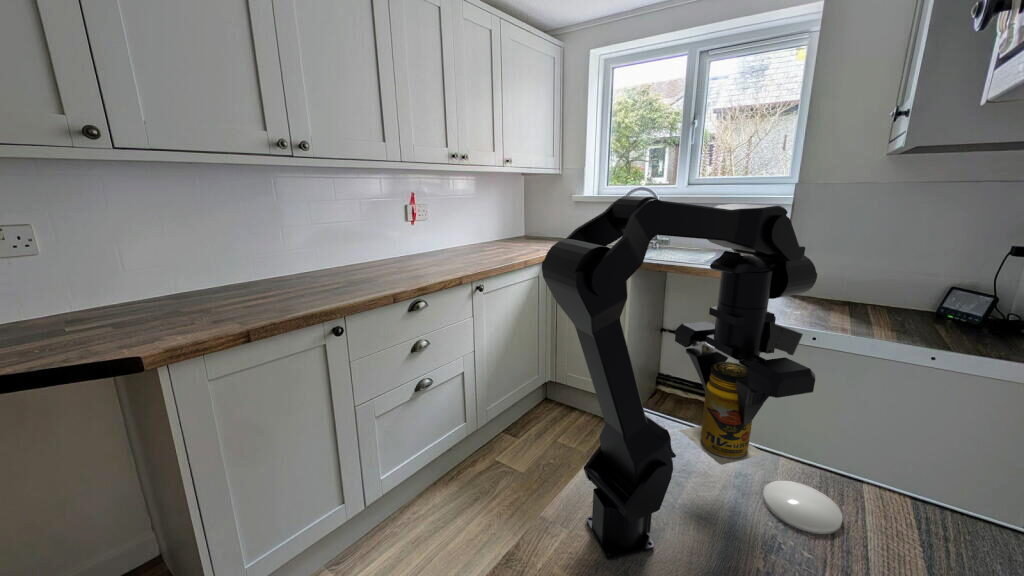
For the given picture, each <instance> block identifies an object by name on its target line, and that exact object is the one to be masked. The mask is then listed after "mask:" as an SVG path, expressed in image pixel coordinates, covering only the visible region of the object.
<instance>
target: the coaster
mask: <svg viewBox="0 0 1024 576" xmlns="http://www.w3.org/2000/svg"><path fill="white" fill-rule="evenodd" d="M762 498H763V502H764V505H765V506H766V507H767V509H768V510H769V511H770V512H771V513H772V514H773V515H774V516H775V517H777V518H778V519H779V520H781V521H783V522H784V523H786V524H787V525H789V526H791V527H793V528H795V529H798V530H800V531H804V532H807V533H811V534H817V535H829V534H834V533H836V532H838V531H839V530H840V528H841V527H842V523H843V513H842V511H841V509H840V508H839V506H838V505H837V504H836V503H835V502H834V501H833V500H832V499H831V498H829V496H827V495H825V494H824V493H823V492H820V491H819V490H817V489H815V488H813V487H811V486H808V485H807V484H803V483H800V482H797V481H790V480H774V481H772V482H769V483H768V484H766V485H765V486H764V488H763V495H762Z"/></svg>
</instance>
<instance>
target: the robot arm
mask: <svg viewBox="0 0 1024 576" xmlns="http://www.w3.org/2000/svg"><path fill="white" fill-rule="evenodd" d="M787 214H788V210H787V209H786V208H785V207H783V206H782V205H772V204H771V205H769V204H752V203H751V204H749V203H747V204H746V203H727V204H718V205H716V206H705V205H699V204H698V205H697V204H691V203H683V202H676V201H669V200H660V199H658V198H656V197H654V196H648V195H647V196H646V195H645V196H644V195H642V196H639V195H624V196H622V197H620V198H619V197H618V198H617V199H616V200H615V201H614V202H612V203H611V204H610V205H609V206H608V207H607V208H606V209H605V210H604V211H603V212H601V213H600V214H598V215H596V216H595V217H593V218H592V219H589V220H588V221H587V222H584V223H583V224H582V225H580V226H578V227H577V228H575V229H574V230H573V231H572V232H571V233H570V234H569V235H568V236H567V237H566V238H564V239H561V240H559V241H557V242H556V243H554V244H553V245H551V247H550V248H549V249H548V250H547V252H546V255H545V257H544V259H543V260H542V262H541V273H542V277H543V279H544V281H545V284H546V286H547V287H548V289H549V291H550V293H551V295H552V297H553V298H554V300H555V302H556V303H557V304H558V306H559V307H560V308H561V309H562V311H563V312H564V314H565V315H566V316H567V317H568V319H570V321H571V323H572V324H573V326H574V328H575V331H576V335H577V337H578V340H579V343H580V347H581V350H582V353H583V356H584V360H585V363H586V366H587V370H588V373H589V375H590V379H591V382H592V385H593V388H594V389H593V390H594V392H595V395H596V397H597V401H598V404H599V407H600V411H601V414H602V416H603V420H604V421H603V422H604V423H603V427H602V428H601V431H600V432H599V444H600V445H599V446H598V447H597V449H596V451H595V452H594V453H593V454H592V455H591V457H590V458H589V459H588V460H587V462H586V464H584V465H583V470H584V474H585V478H586V479H587V480H588V481H589V482H591V483H592V484H593V485H594V486H595V487H594V488H593V491H592V493H593V494H592V510H591V511H592V513H591V514H592V515H588V516H587V517H586V524H587V525H588V527H589V529H590V532H591V533H592V535H593V537H594V538H595V540H596V542H597V544H598V547H600V550H601V552H602V554H603V556H604V558H606V559H607V560H614V559H618V558H623V557H627V556H632V555H636V554H640V553H644V552H649V551H652V550H654V548H655V544H654V542H653V540H652V538H651V537H650V536H649V534H650V532H651V527H652V515H653V514H654V513H656V512H659V511H660V510H661V507H662V505H663V502H664V499H665V497H666V494H667V491H668V488H669V487H670V483H671V480H672V476H673V471H674V460H673V459H674V458H676V457H677V455H676V453H675V452H674V450H673V448H672V439H671V435H670V432H669V430H668V429H667V428H665V427H663V426H662V425H660V424H659V423H658V422H656V421H655V420H653V419H652V418H650V417H649V416H647V415H646V413H645V408H644V406H643V402H642V398H641V394H640V391H639V390H640V389H639V386H638V382H637V379H636V375H635V371H634V367H633V364H632V360H631V355H630V353H629V348H628V344H627V341H626V337H625V333H624V329H623V326H622V322H621V316H622V313H623V311H624V308H625V305H626V303H627V300H628V296H629V295H628V283H627V281H628V280H629V279H630V278H631V277H632V276H633V275H634V274H635V273H636V272H637V271H638V270H639V268H640V267H642V265H643V263H644V262H645V257H646V254H647V251H648V249H649V246H650V243H651V241H652V240H653V239H654V238H655V237H656V236H663V237H675V238H677V237H678V238H689V239H697V240H698V239H700V240H707V241H708V242H709V243H711V244H713V245H717V246H720V247H723V248H727V249H731V250H732V251H730V250H724V251H723V252H722V254H721V255H720V256H718V257H717V258H715V259H714V260H713V261H712V262H711V263H710V265H709V268H710V269H711V270H713V271H718V272H720V279H719V287H718V288H719V289H718V297H717V305H716V306H709V309H708V311H709V312H708V315H709V316H713V317H715V322H714V323H711V322H709V321H708V320H707V321H706V320H705V321H695V322H693V321H692V322H686V323H684V322H683V323H681V324H680V325H679V326H678V327H677V328H676V329H675V335H674V336H675V337H674V342H675V343H677V344H678V345H681V346H682V347H683V348H686V349H685V353H686V354H687V355H688V356H689V358H690V360H691V363H692V364H693V367H694V369H695V371H696V373H697V375H698V378H699V380H700V383H701V385H702V387H703V389H704V391H705V393H706V386H707V383H708V382H709V381H710V375H711V367H712V366H713V364H715V363H718V362H727V361H728V360H729V359H730V360H732V361H734V362H735V363H739V364H742V365H744V366H745V367H747V368H749V369H748V375H747V378H745V379H738V380H736V386H737V395H738V404H739V413H740V419H741V423H742V424H744V425H745V424H750V423H751V421H752V422H753V420H754V418H755V417H756V415H758V412H760V409H762V406H763V405H764V403H765V402H766V401H767V400H768V399H769V398H770V397H771V398H776V399H779V398H783V397H784V398H785V397H793V396H798V395H803V394H804V395H805V394H809V393H814V390H815V389H814V388H815V384H816V374H815V372H814V371H813V370H812V369H811V368H810V367H808V366H805V365H804V364H801V363H799V362H797V361H795V360H792V359H791V358H788V357H777V358H769V359H767V358H764V357H762V356H761V353H764V354H766V355H767V354H774V353H775V350H779V351H783V352H785V353H786V354H787V355H790V356H794V354H795V352H796V350H797V349H798V346H799V344H800V341H801V339H802V337H803V335H804V334H803V333H802V332H800V331H796V330H793V329H791V328H789V327H786V326H783V325H780V324H778V323H776V319H777V318H776V316H775V315H776V314H775V313H773V312H770V311H768V308H769V302H770V301H769V300H771V299H772V300H774V299H779V298H785V297H789V296H795V295H800V294H804V293H806V292H809V291H810V290H811V289H812V288H813V287H814V285H816V281H817V280H818V279H817V278H818V272H817V270H816V266H815V264H814V262H813V261H812V260H811V259H810V258H809V257H808V256H806V254H805V252H806V246H804V245H799V242H798V238H797V236H796V232H795V229H794V226H793V223H792V221H791V219H790V218H789V217H788V216H787ZM617 240H618V241H617ZM614 242H615V243H614ZM612 243H614V245H612V247H608V246H609V245H611V244H612ZM742 254H743V255H742Z"/></svg>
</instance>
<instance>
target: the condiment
mask: <svg viewBox="0 0 1024 576" xmlns="http://www.w3.org/2000/svg"><path fill="white" fill-rule="evenodd" d="M748 369H749V368H747V367H745V366H744V365H742V364H740V363H738V362H735V361H734V362H732V361H726V362H718V363H715V364H713V366H712V367H711V375H710V381H709V382H708V383H707V386H706V392H705V393H704V394H705V395H704V401H703V402H704V404H703V412H702V422H701V423H702V424H701V425H699V426H695V427H689V428H684V429H680V430H678V432H680V433H681V434H683V435H684V437H687V438H688V439H689V440H690V441H691V442H693V444H695V445H696V446H697V447H698V448H699V449H700V450H702V451H703V452H704V453H705V454H706V455H708V456H709V458H712V459H713V460H714V461H715V462H716V463H717V464H719V465H722V466H723V465H726V464H731V463H737V462H741V461H744V460H747V459H751V458H755V457H756V456H757V457H758V456H762V455H765V453H764V452H763V451H761V450H760V449H758V448H756V447H755V446H753V445H752V443H751V444H750V438H751V433H752V425H753V424H752V423H753V420H752V421H751V423H750V424H745V425H744V424H742V423H741V419H740V413H739V404H738V395H737V386H736V380H738V379H745V378H747V375H748Z"/></svg>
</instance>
